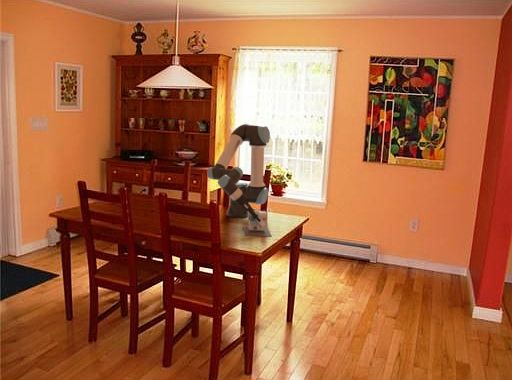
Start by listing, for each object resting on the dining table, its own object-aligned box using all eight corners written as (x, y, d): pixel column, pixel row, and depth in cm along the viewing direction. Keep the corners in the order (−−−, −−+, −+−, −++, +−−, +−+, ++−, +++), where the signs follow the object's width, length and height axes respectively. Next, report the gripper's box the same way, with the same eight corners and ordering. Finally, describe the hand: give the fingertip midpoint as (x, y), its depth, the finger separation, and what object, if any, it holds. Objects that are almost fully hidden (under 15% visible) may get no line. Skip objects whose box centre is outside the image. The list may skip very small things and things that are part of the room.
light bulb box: (249, 230, 291) (250, 212, 289) (247, 227, 298) (248, 210, 296) (266, 230, 293) (267, 213, 291) (264, 227, 300) (265, 210, 298)
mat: (242, 227, 305) (242, 226, 305) (267, 228, 306) (267, 227, 306) (245, 235, 285) (245, 235, 285) (271, 236, 287) (271, 235, 287)
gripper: (232, 197, 301) (256, 223, 305) (234, 204, 281) (260, 231, 286) (241, 189, 300) (265, 215, 305) (244, 195, 281) (269, 223, 285)
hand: (262, 223), depth 295 cm, fingers closed on light bulb box, 7 cm apart
